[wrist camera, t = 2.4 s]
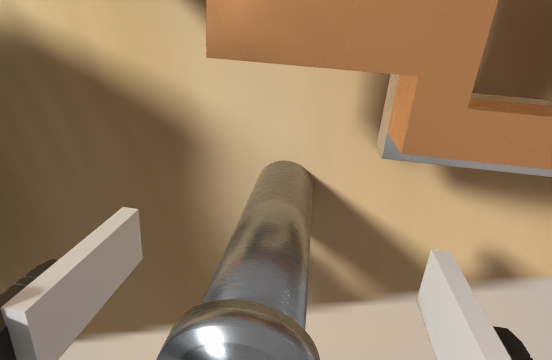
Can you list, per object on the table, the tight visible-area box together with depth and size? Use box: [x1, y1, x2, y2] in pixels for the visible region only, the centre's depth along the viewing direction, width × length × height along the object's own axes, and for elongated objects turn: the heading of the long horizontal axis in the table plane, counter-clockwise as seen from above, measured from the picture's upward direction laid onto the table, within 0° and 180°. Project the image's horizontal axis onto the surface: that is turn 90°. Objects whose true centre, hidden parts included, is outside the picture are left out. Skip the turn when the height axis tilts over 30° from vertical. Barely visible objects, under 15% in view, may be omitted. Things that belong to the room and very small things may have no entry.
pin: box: [157, 161, 320, 360], centre depth 16 cm, size 5×5×14 cm
